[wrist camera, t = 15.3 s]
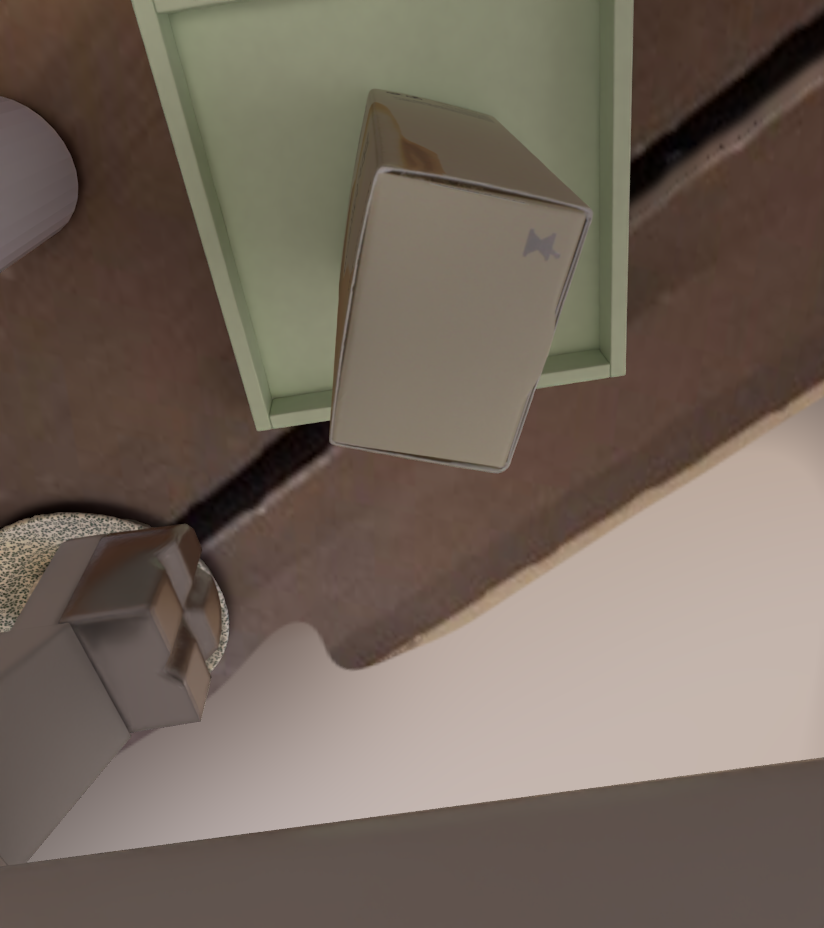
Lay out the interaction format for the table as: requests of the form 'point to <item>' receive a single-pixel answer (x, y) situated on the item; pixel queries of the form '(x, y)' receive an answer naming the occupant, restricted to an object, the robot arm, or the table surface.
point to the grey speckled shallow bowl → (35, 543)
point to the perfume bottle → (31, 182)
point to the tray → (335, 147)
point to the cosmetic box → (447, 284)
